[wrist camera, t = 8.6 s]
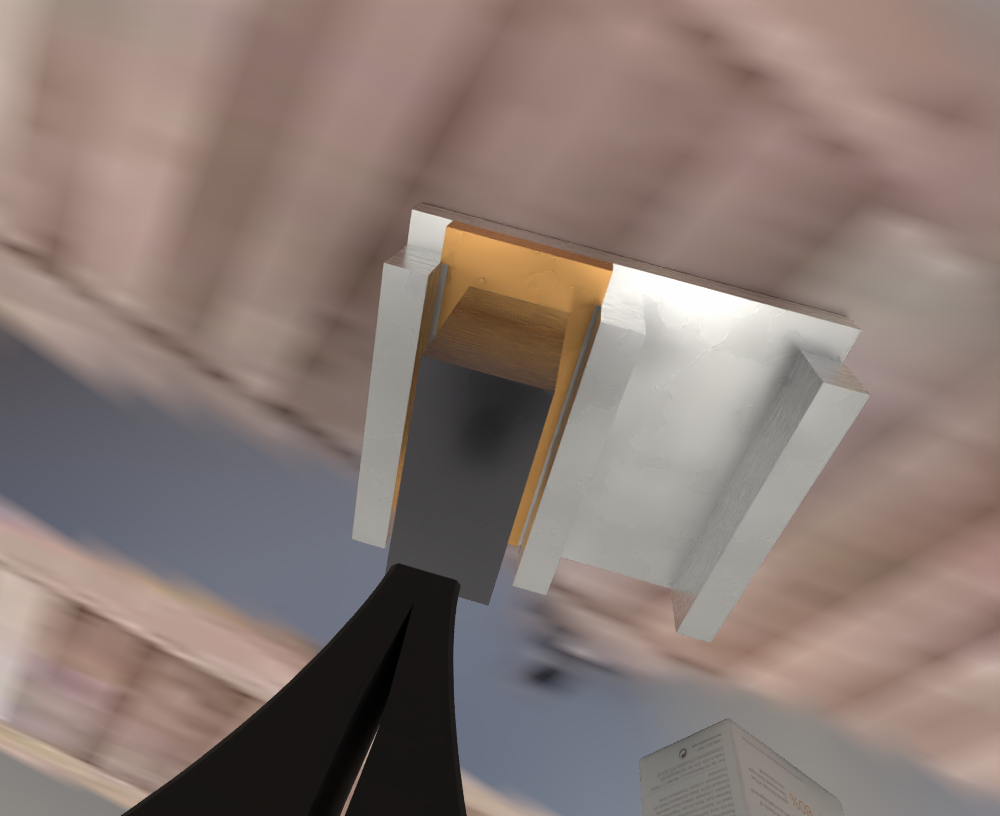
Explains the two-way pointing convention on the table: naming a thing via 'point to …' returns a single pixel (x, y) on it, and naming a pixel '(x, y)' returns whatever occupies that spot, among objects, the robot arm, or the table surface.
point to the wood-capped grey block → (475, 436)
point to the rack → (626, 409)
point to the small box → (728, 779)
